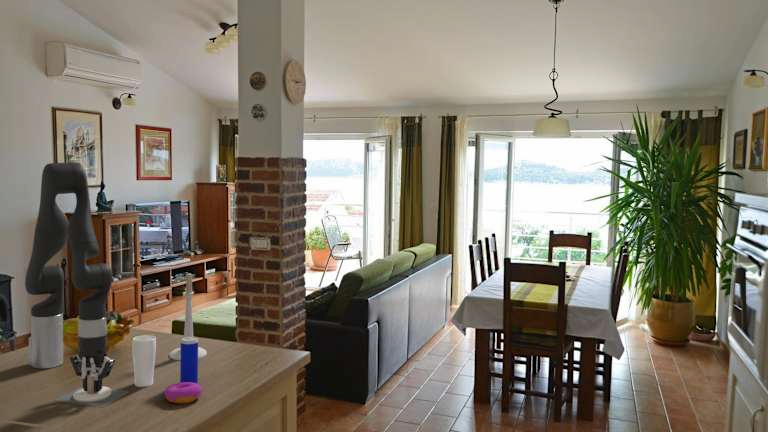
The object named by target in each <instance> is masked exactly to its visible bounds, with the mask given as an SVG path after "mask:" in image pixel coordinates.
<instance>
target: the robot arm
mask: <svg viewBox="0 0 768 432" xmlns="http://www.w3.org/2000/svg"><path fill="white" fill-rule="evenodd" d="M88 182H89V181H88V178H87V172H86V170H85V168H84V166H83V165H82V164H81V163H79V162H72V161H71V162H51V163H46V165H45V166H44V168H43V170H42V173H41V183H40V184H41V185H40V198H39V199H40V200H39V209H38V215H37V219H36V223H35V228H34V235H33V243H32V251H31V254H30V259H29V263H28V265H27V269H26V274H25V279H24V280H25V281H24V282H25V283H24V287H25V290H26V292H27V294H29V295H31V296H40V295H49V296H48V297H47V298H46V299H44V300H42V301H40V302H38V303H36V304H34V305H32V307H31V308H30V326H31V327H30V329H31V330H30V334H31V336H29V337H28V366H30V367H32V368H34V369H52V368H56V367H59V366H61V365H62V364H63V363H64V325H63V324H64V311H63V310H64V289H65V274H64V269H63V268H62V267H61V266H60V265H46V264H47V263H48V262H49V261H50V260H51V259H52V258H53V257H55V256H56V255H57V254H59V252H61V250H62V249H63V248H64V247H65V245H66V243H67V242H69V246H70V250H71V255H72V256H71V257H72V258H71V260H72V263H71V264H72V265H71V283H72V285H73V287H75V288H76V289H77V290H78V291H89V290H93V291H92V292H91V294H90V295H87V296H85V297H82V298H80V300H79V302H78V325H77V350H78V353H77V354H75V355H72V356H70V357H69V360H70V363H71V365H72V368H73V370H74V372H75V375H76V377H80V378H81V379H82V386H83V389H84V391H87V376H88V375H90V374H94V379H95V380H94V392H95V393H97V392H99V391H101V389H102V386H103V380H104V379H105V378H107V377H109V375H110V374H111V371H112V369H113V367H114V364H115V363H116V360H115V359H116V358H109V356H108V354H107V351H106V349H107V346H108V323H107V301H108V297H109V293H110V291H111V288H112V287H111V286H112V283H113V276H114V274H113V270H112V268H111V266H109V264H107V263H102V262H101V263H94V264H87V260H90V259H93V258H95V257H96V256H98V255H99V253H100V249H99V244H98V241H97V236H96V234H95V230H94V225H93V219H92V211H91V210H92V209H91V202H90V201H91V199H90V193H89V183H88ZM65 194H74V195H75V198H76V204H75V208H74V211H73V213H72V216H71V218H70V221H69V219H68V218H67V216H66V215H65V213H64V212H63V210H62V209H61V208H60V207H59V206H58V203H57V201H56V198H57V196H58V195H65Z"/></svg>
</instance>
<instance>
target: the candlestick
mask: <svg viewBox="0 0 768 432" xmlns="http://www.w3.org/2000/svg"><path fill="white" fill-rule="evenodd" d="M185 274H186V273H185ZM185 277H186V278H185V279H186V281H185V282H186V283H185V285H186V286H185V291H184V292H183V294H184V295H185V296H184V298H185V300H186V302H185V317H184V330H183V338H184V337H194V324H193V302H192V299H193V298H194V294H195V292H194V291H193V274H192V273H187V274H186V275H185ZM207 355H208V352H207V350H206V349H204V348H203V347H200V346H198V360H199V359H202V358H205V357H206V356H207ZM169 358H170V359H172V360H175V361H180V362H181V346H180V347H178V348H175V349H173V350H172V351H171V352H170V353H169Z"/></svg>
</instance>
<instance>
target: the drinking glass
mask: <svg viewBox="0 0 768 432" xmlns="http://www.w3.org/2000/svg"><path fill="white" fill-rule="evenodd" d="M131 350H132V353H131V354H132V363H133V372H134V373H133V375H134V386H135V387H138V388H145V387H150V386H152V385H153V384H154V373H155V363H156V362H155V361H156V354H157V337H156V336H155V335H152V334H151V335H150V334H146V335H138V336H134V337H133V338H132V347H131Z"/></svg>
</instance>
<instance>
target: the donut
mask: <svg viewBox="0 0 768 432" xmlns="http://www.w3.org/2000/svg"><path fill="white" fill-rule="evenodd" d="M202 392H203V389H202V387H201V385H200V384H199V383H198V384H197V383H192V382H182V383H180V382H178V383H177V382H176V383H173V384H171V385H169V386H167V387H166V388H165V390H164V396H165V399H166V400H167V401H168V402H171V403H173V404H189V403H191V402H193V401H196V400H197V399H198V398H199V397H201V394H202Z"/></svg>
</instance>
